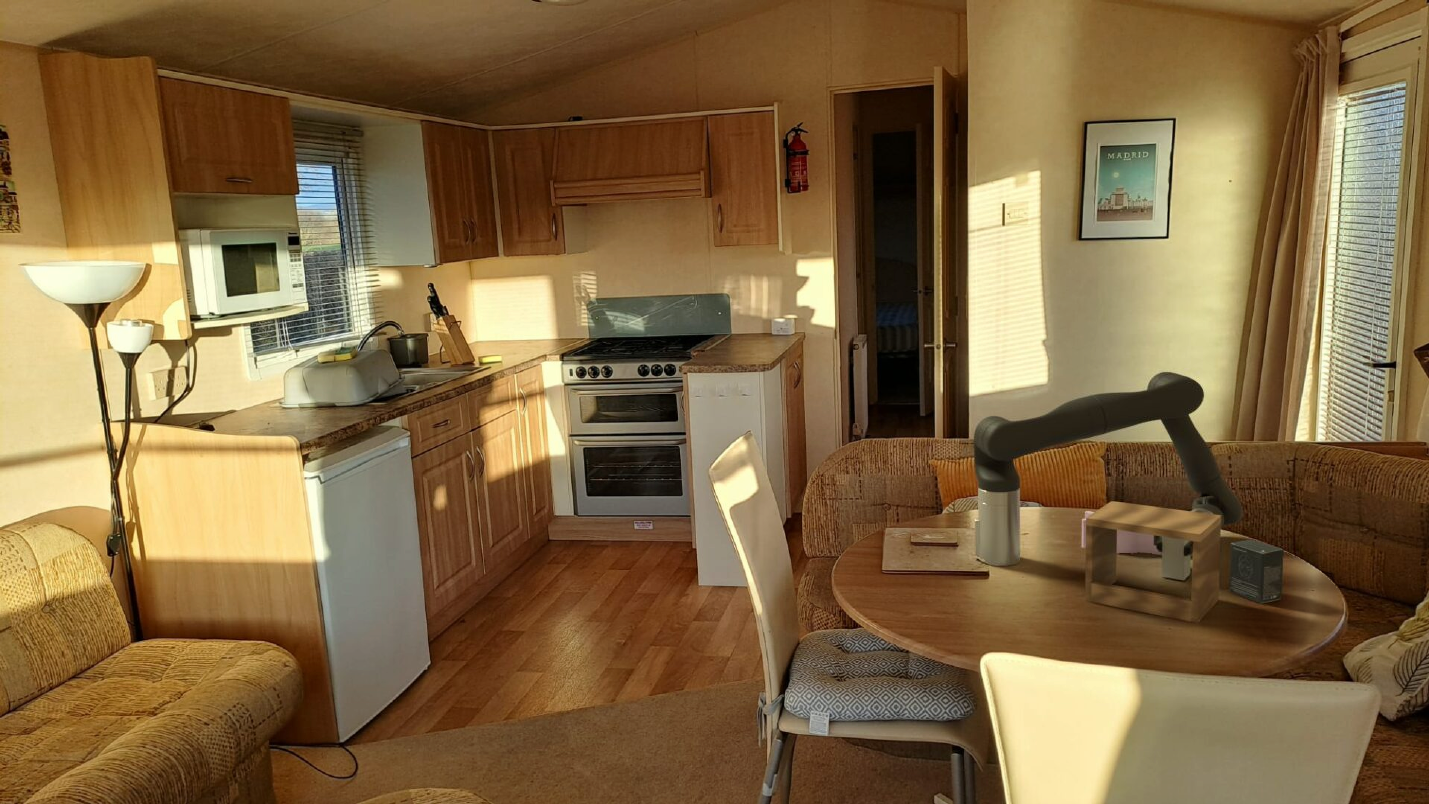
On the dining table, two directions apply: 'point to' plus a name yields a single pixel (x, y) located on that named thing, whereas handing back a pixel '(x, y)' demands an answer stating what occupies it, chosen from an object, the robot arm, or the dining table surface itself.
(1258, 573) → the box
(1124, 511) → the shelf
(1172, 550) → the block
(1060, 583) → the dining table surface
